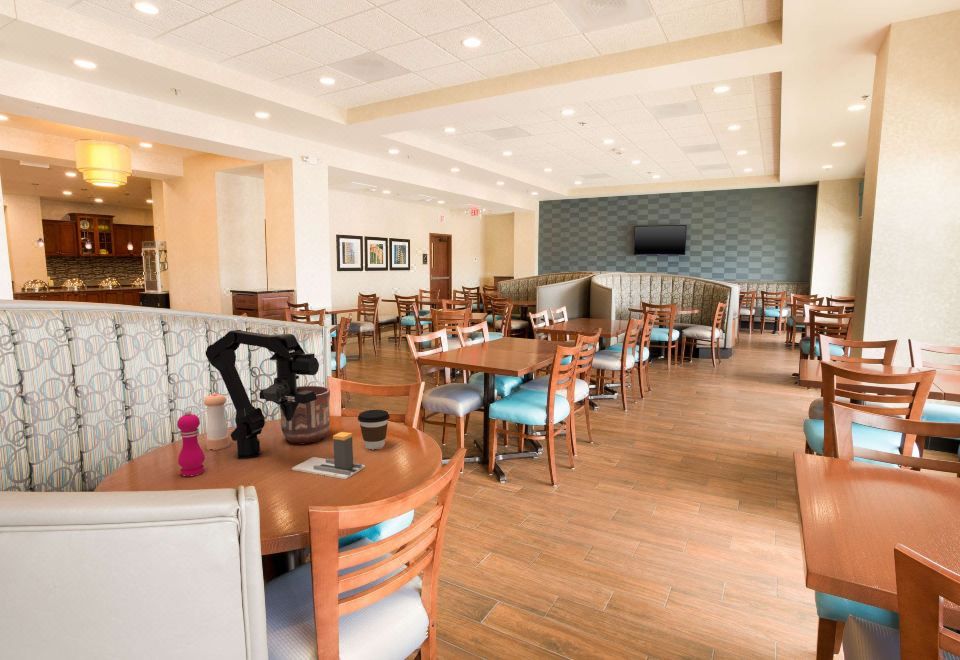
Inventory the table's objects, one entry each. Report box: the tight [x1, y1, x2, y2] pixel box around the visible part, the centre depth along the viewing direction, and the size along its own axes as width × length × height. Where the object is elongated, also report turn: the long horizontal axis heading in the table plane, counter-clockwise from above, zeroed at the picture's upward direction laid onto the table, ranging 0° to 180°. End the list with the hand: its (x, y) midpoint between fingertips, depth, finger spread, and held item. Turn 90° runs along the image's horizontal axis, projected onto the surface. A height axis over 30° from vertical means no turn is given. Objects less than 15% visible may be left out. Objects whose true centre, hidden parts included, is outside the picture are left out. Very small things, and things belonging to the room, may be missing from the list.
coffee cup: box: [357, 409, 391, 451], centre depth 182 cm, size 11×11×12 cm
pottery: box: [279, 385, 331, 445], centre depth 191 cm, size 18×18×18 cm
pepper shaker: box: [203, 392, 231, 451], centre depth 184 cm, size 7×7×19 cm
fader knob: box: [332, 431, 354, 471], centre depth 161 cm, size 4×4×11 cm
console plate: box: [291, 456, 366, 480], centre depth 164 cm, size 20×10×2 cm, turn 68°
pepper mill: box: [176, 409, 206, 476], centre depth 160 cm, size 7×7×20 cm
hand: (289, 420), depth 170 cm, fingers closed
